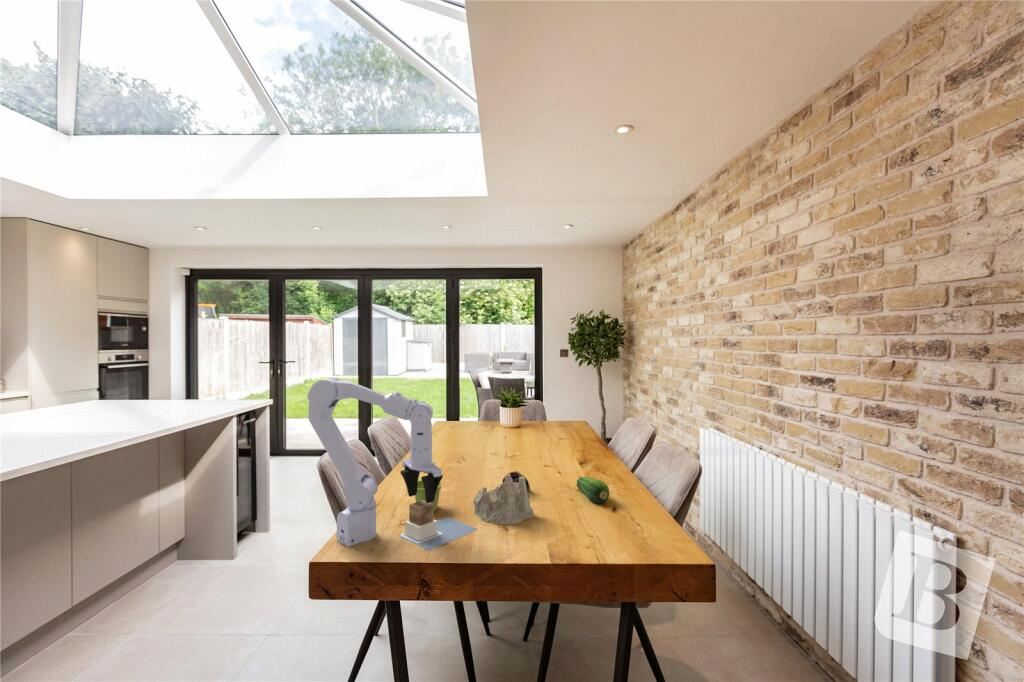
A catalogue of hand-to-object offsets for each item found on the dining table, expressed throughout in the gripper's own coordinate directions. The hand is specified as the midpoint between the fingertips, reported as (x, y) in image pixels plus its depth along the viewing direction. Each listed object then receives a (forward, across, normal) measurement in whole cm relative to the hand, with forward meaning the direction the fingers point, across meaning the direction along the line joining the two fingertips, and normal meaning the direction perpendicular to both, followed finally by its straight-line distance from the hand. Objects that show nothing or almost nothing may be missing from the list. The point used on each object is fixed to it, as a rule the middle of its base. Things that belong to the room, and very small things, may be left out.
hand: (421, 498), depth 117 cm
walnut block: (+6, 0, 0) cm, 6 cm away
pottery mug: (+11, +6, -46) cm, 47 cm away
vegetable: (+11, -17, -59) cm, 62 cm away
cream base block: (+9, 0, 0) cm, 9 cm away
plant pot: (+11, +14, -13) cm, 22 cm away
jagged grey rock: (+11, -7, -25) cm, 29 cm away
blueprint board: (+10, -3, -4) cm, 11 cm away
